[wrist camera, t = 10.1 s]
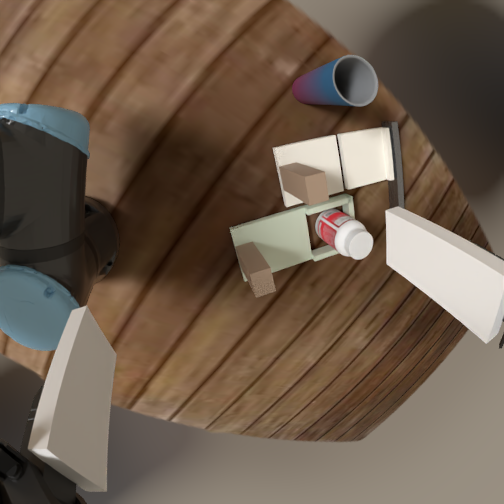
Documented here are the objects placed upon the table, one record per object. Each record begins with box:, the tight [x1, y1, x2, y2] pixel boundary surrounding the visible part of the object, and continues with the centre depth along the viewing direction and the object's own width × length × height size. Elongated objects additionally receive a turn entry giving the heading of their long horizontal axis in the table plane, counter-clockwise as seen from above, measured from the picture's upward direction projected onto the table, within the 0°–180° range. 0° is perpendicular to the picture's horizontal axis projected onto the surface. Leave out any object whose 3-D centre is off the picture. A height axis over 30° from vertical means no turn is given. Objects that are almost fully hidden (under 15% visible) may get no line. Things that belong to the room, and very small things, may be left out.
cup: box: [292, 55, 378, 107], centre depth 37 cm, size 7×7×15 cm
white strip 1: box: [273, 135, 344, 207], centre depth 44 cm, size 11×10×11 cm
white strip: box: [337, 127, 394, 190], centre depth 49 cm, size 10×10×2 cm
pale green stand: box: [229, 193, 355, 298], centre depth 48 cm, size 22×10×11 cm, turn 103°
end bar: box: [382, 121, 404, 209], centre depth 52 cm, size 2×23×3 cm, turn 14°
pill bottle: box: [315, 209, 373, 260], centre depth 49 cm, size 6×6×11 cm
